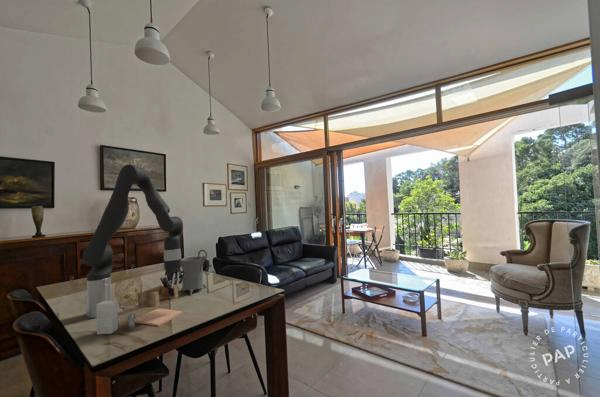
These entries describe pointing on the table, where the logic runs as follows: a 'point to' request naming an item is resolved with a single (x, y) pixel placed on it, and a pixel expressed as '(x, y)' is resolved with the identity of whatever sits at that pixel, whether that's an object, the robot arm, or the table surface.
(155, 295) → the c link
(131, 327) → the post
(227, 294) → the table surface
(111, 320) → the skincare box
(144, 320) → the tile
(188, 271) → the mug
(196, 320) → the table surface
